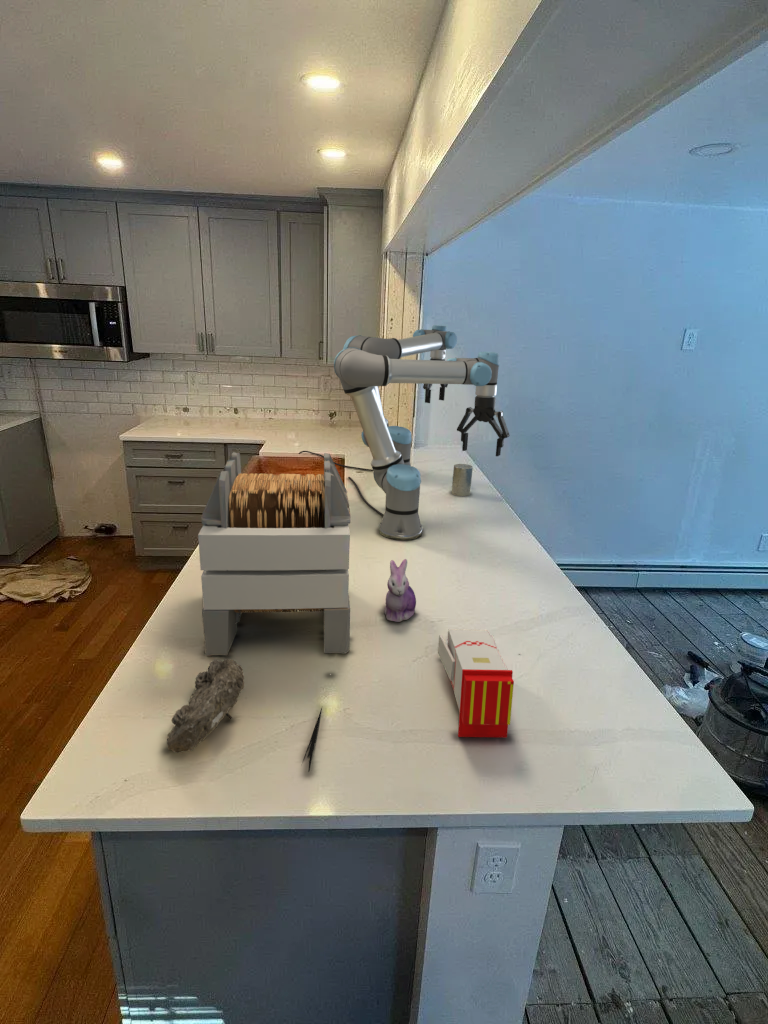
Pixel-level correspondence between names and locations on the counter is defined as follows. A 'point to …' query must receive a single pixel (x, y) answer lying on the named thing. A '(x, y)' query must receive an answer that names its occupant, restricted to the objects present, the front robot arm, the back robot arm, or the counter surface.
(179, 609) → the counter surface
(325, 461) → the record crate
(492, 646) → the toy
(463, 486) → the tin
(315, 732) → the feather
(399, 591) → the figurine
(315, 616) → the counter surface
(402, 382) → the front robot arm
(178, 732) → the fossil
